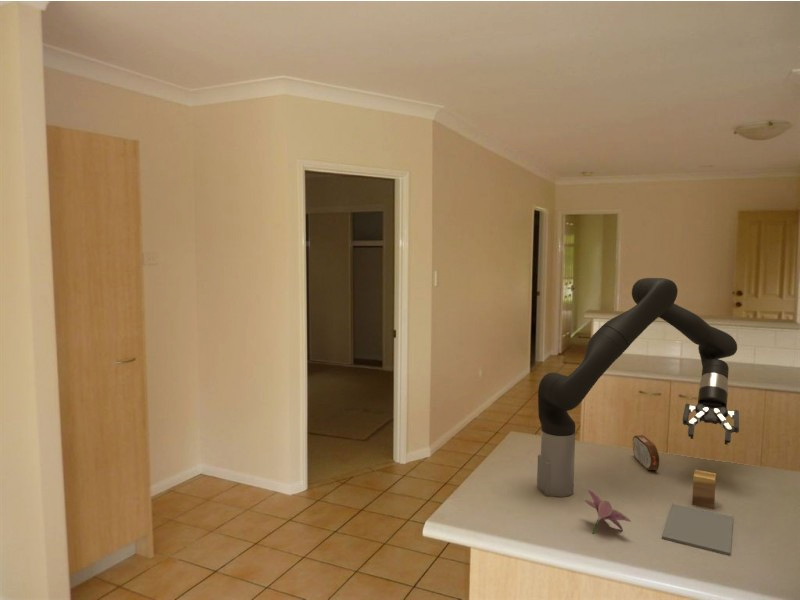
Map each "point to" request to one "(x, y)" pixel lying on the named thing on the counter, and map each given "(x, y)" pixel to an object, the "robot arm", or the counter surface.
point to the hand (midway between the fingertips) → (708, 440)
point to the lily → (605, 510)
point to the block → (704, 489)
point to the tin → (646, 452)
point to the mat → (699, 529)
